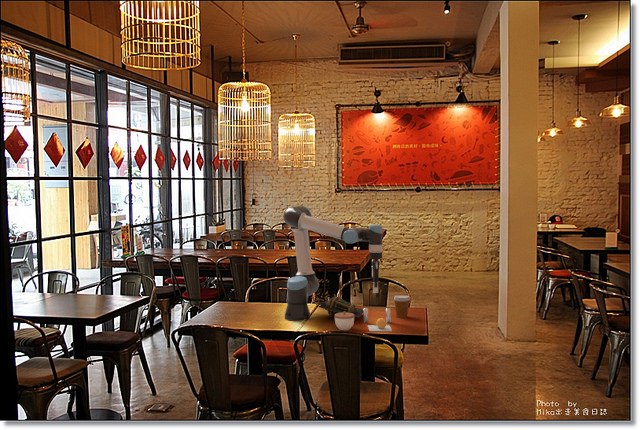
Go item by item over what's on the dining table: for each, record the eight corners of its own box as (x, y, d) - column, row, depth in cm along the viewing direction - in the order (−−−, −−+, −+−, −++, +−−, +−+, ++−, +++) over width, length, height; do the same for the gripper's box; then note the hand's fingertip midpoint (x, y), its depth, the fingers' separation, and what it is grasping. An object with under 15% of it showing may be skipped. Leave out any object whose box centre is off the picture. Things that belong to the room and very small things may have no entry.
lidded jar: (352, 332, 302) (352, 314, 301) (332, 330, 305) (332, 313, 304) (356, 327, 312) (356, 310, 311) (337, 325, 315) (337, 308, 314)
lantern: (355, 330, 320) (305, 313, 327) (361, 324, 343) (314, 309, 349) (362, 307, 320) (312, 290, 326) (367, 302, 343) (320, 287, 349)
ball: (374, 323, 312) (376, 330, 307) (376, 315, 310) (377, 322, 305) (384, 323, 313) (386, 330, 308) (386, 316, 310) (387, 322, 305)
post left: (363, 323, 321) (363, 309, 320) (363, 322, 323) (363, 308, 323) (368, 323, 321) (368, 308, 320) (367, 322, 323) (367, 307, 323)
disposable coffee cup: (398, 319, 330) (398, 298, 329) (390, 315, 339) (390, 295, 338) (413, 317, 333) (413, 297, 333) (404, 314, 342) (404, 294, 342)
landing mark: (369, 331, 303) (369, 330, 303) (367, 325, 315) (367, 325, 315) (392, 331, 303) (392, 330, 303) (389, 325, 315) (389, 325, 315)
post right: (386, 323, 321) (386, 308, 320) (385, 321, 323) (385, 307, 323) (390, 323, 321) (390, 308, 320) (390, 321, 323) (390, 307, 323)
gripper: (383, 253, 321) (383, 294, 323) (380, 250, 334) (380, 290, 336) (370, 253, 321) (370, 294, 323) (368, 250, 334) (368, 290, 336)
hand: (375, 292), depth 329 cm, fingers closed
